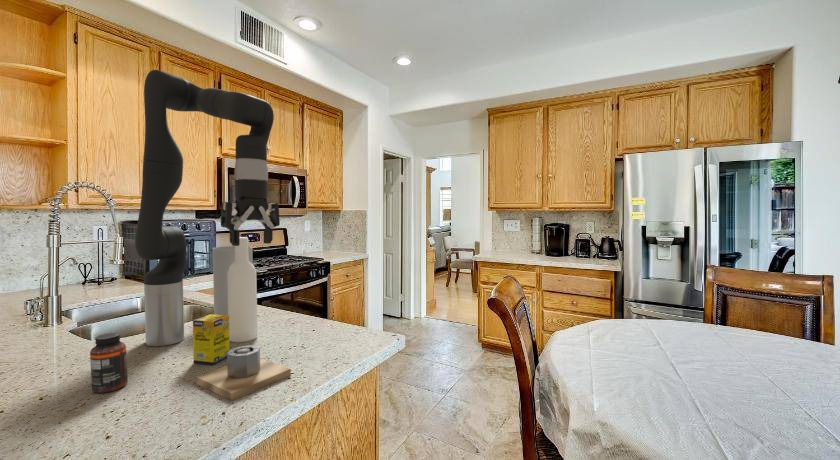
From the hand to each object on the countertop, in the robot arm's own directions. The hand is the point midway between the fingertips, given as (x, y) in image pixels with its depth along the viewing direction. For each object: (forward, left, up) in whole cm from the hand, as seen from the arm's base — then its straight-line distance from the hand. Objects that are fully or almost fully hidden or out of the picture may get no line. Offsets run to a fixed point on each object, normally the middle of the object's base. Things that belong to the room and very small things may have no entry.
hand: (251, 244), depth 94 cm
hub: (+8, -7, -28) cm, 30 cm away
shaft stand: (+8, -7, -29) cm, 31 cm away
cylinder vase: (-41, +20, -30) cm, 54 cm away
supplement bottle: (-12, -25, -30) cm, 41 cm away
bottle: (-18, +9, -30) cm, 36 cm away
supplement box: (-9, -5, -30) cm, 32 cm away
